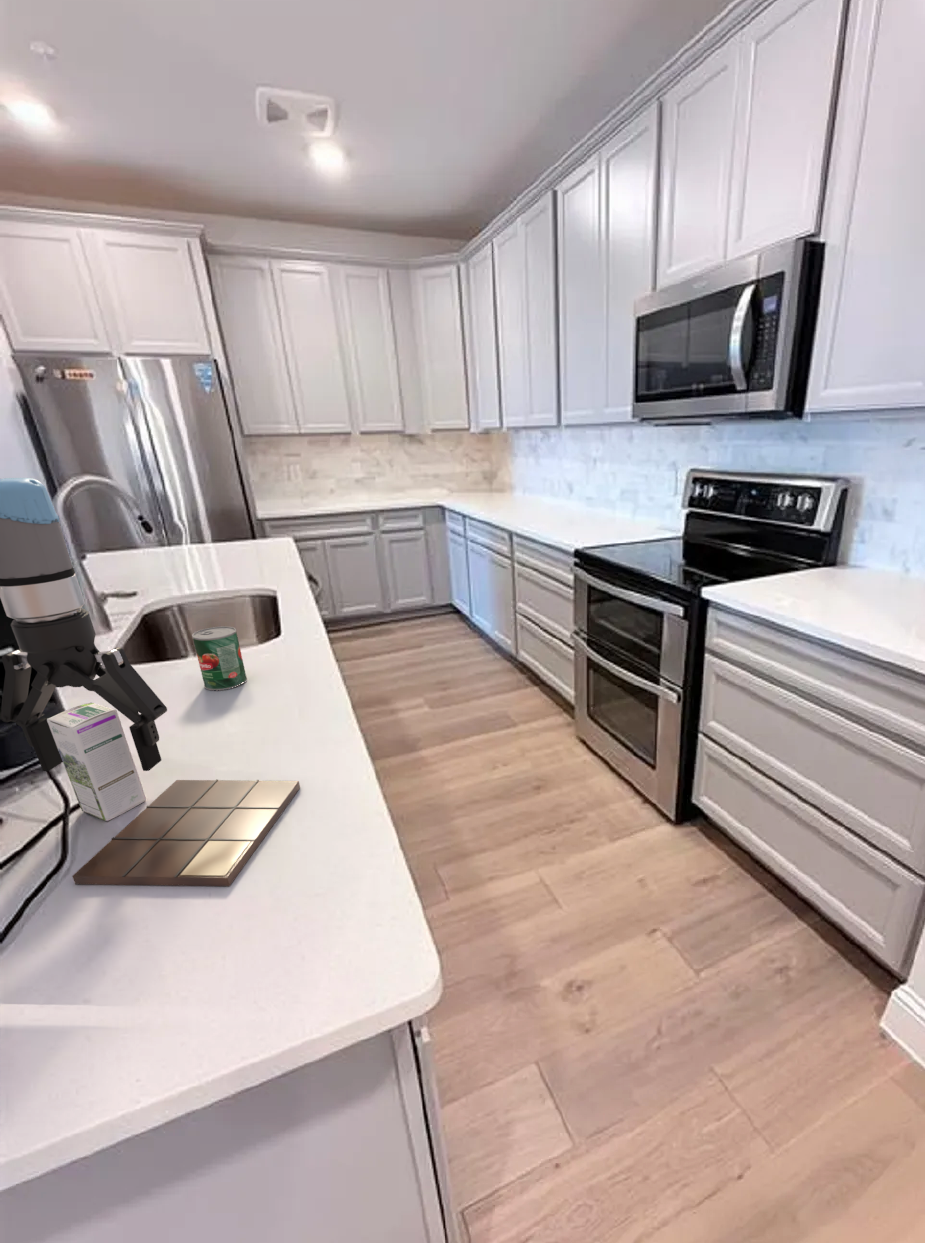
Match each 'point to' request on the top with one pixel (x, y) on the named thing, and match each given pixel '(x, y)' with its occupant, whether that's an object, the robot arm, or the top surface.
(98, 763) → the syrup box
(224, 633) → the canned tomato
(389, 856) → the top surface
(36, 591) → the robot arm
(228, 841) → the game board
